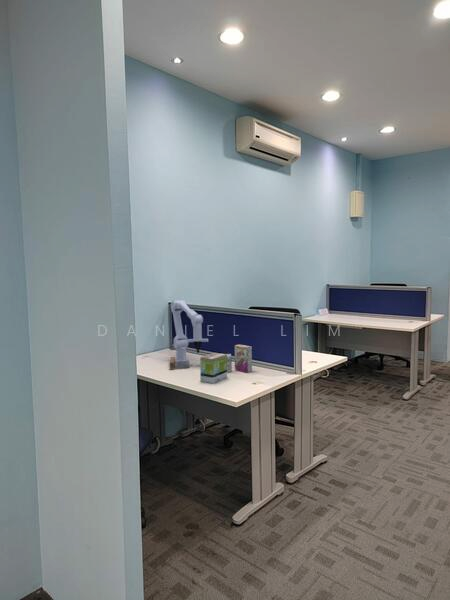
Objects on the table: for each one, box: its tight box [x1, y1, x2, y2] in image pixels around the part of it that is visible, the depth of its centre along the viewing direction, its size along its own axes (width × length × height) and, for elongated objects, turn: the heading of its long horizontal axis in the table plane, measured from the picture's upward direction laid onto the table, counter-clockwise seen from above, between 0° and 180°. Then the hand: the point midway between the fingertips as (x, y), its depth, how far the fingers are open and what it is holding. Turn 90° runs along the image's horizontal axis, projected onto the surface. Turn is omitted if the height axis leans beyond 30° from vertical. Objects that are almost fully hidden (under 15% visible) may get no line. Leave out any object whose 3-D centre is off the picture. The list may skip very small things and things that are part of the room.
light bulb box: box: [226, 353, 233, 373], centre depth 253 cm, size 11×7×11 cm, turn 84°
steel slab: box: [174, 360, 191, 370], centre depth 267 cm, size 10×10×3 cm
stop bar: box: [169, 356, 176, 371], centre depth 267 cm, size 16×3×5 cm, turn 5°
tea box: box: [199, 352, 228, 384], centre depth 235 cm, size 15×10×15 cm
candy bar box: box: [234, 344, 253, 374], centre depth 253 cm, size 11×5×16 cm, turn 47°
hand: (197, 352), depth 267 cm, fingers closed
